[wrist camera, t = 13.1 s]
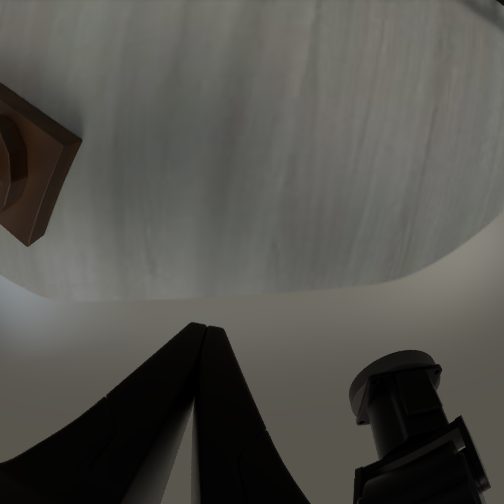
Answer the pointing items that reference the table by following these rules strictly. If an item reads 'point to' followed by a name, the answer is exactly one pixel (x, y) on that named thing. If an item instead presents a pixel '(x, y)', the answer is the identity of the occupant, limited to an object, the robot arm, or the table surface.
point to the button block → (30, 166)
